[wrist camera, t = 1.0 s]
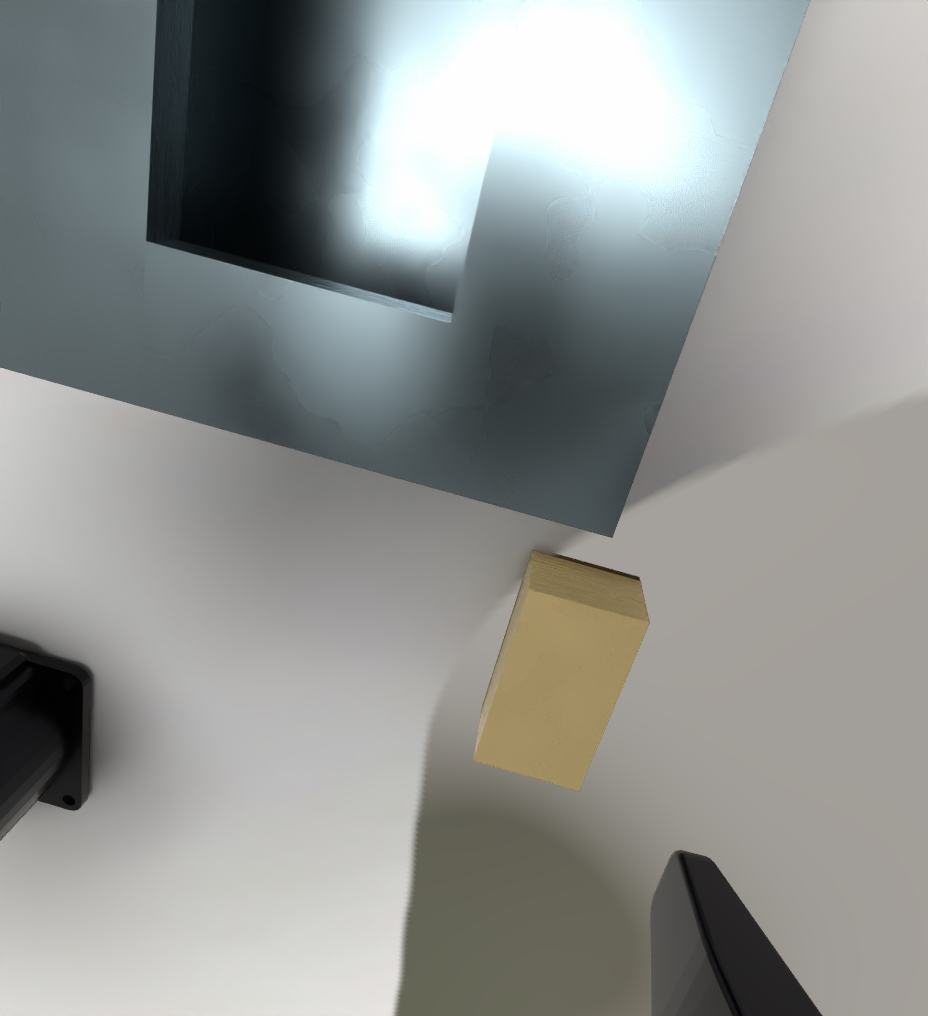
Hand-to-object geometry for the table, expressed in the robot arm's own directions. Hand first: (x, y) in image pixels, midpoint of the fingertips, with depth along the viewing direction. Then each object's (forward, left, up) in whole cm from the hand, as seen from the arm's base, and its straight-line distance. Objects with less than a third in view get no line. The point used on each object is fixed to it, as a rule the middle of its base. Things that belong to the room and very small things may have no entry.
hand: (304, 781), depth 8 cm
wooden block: (-5, -4, -12) cm, 14 cm away
